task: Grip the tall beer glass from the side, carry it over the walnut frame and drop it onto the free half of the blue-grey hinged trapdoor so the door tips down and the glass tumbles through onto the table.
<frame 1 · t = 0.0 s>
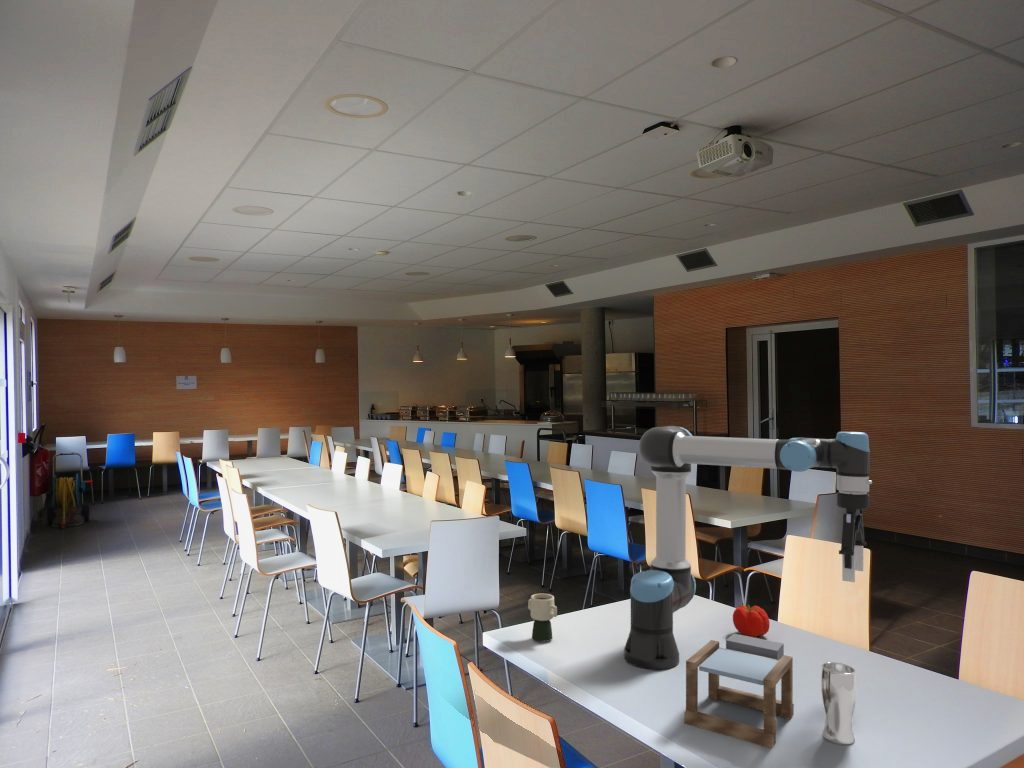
hand: (853, 575, 176), 28 cm above the table, tool pointing down, fingers open, 13 cm apart
beer glass: (838, 739, 148), on the table
frame: (739, 718, 157), on the table
trapdoor: (744, 660, 160), point 12 cm above the table, hinge at 0.0°
character mug: (542, 640, 207), on the table
tomato: (751, 636, 213), on the table
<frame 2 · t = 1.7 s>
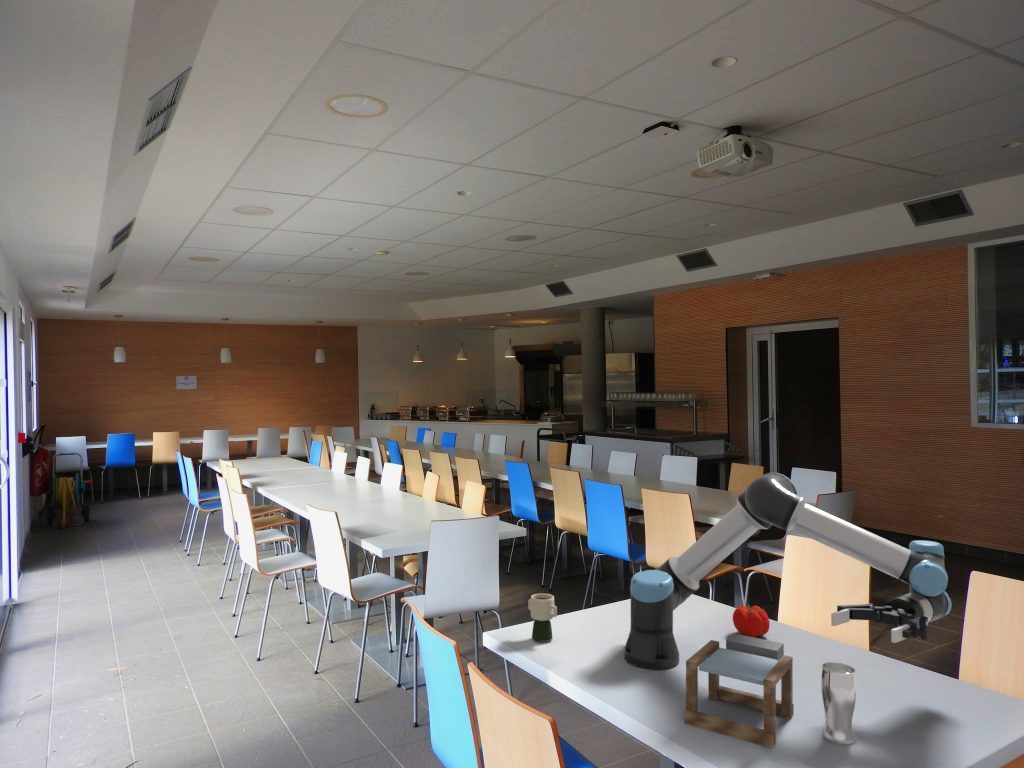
hand: (861, 627, 154), 22 cm above the table, tool horizontal, fingers open, 13 cm apart
nothing on the table moved.
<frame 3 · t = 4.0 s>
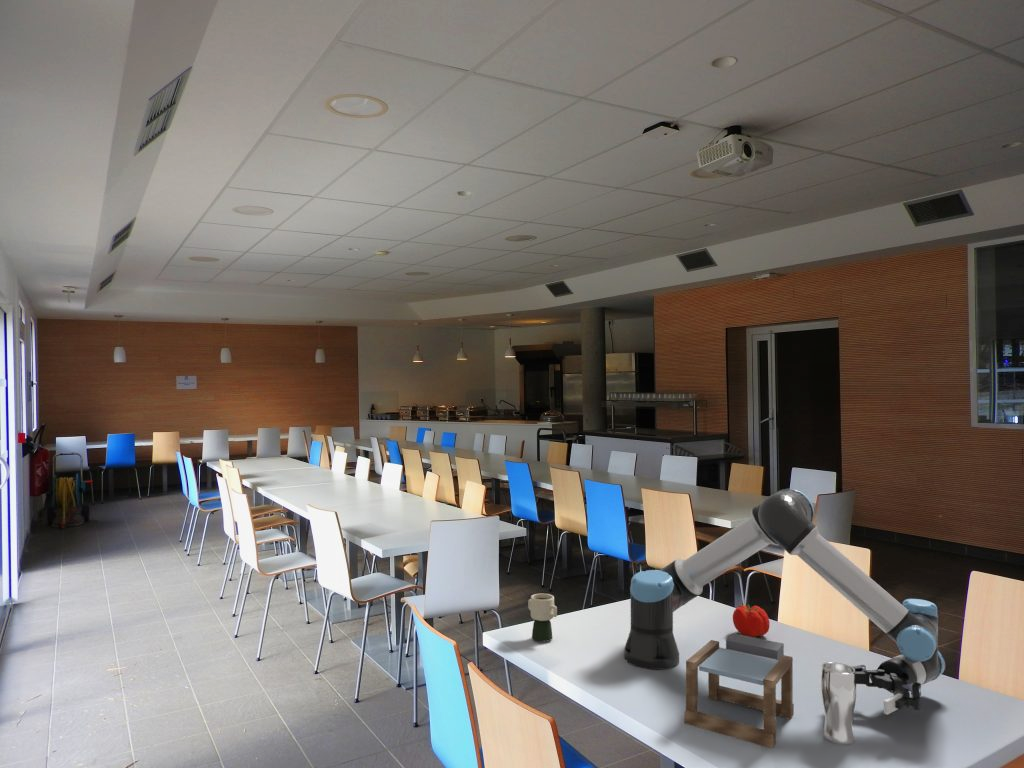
hand: (853, 696, 151), 8 cm above the table, tool horizontal, fingers open, 13 cm apart
nothing on the table moved.
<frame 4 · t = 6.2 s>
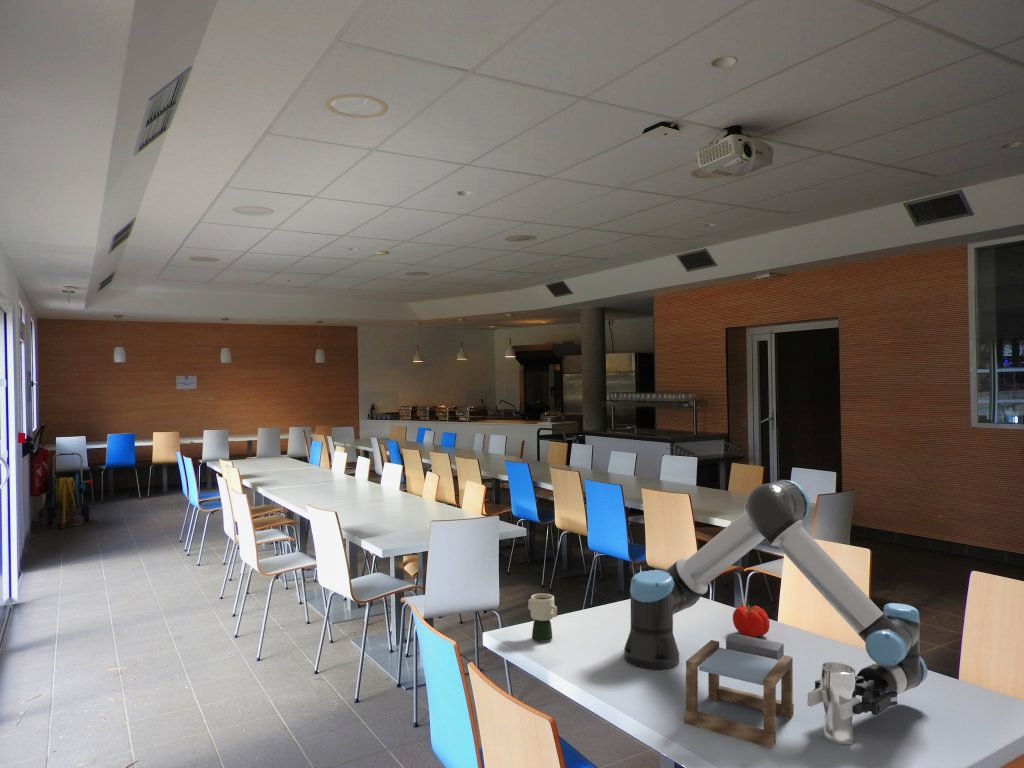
hand: (825, 706, 145), 8 cm above the table, tool horizontal, fingers closed on beer glass, 7 cm apart
beer glass: (838, 738, 148), on the table, touching gripper
everything else where it was.
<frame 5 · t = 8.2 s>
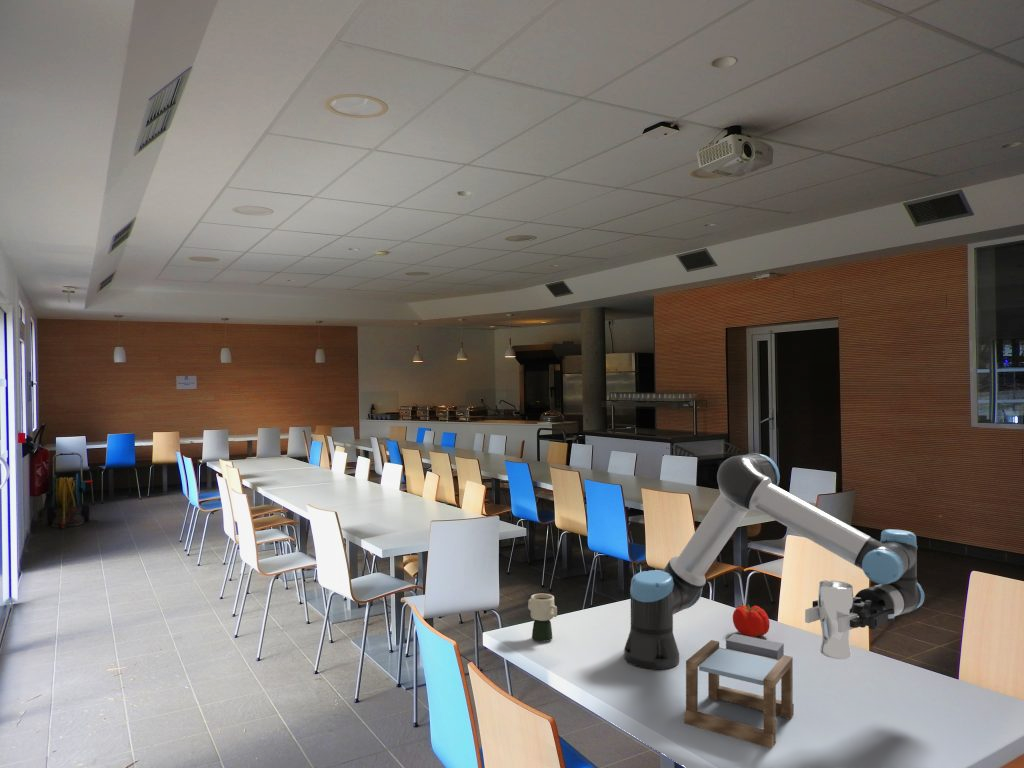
hand: (822, 620, 146), 26 cm above the table, tool horizontal, fingers closed on beer glass, 7 cm apart
beer glass: (835, 655, 149), point 18 cm above the table, touching gripper
everything else where it was.
when the fingers open (23 cm above the table, at t = 10.1 s): beer glass drops 9 cm, resting on frame.
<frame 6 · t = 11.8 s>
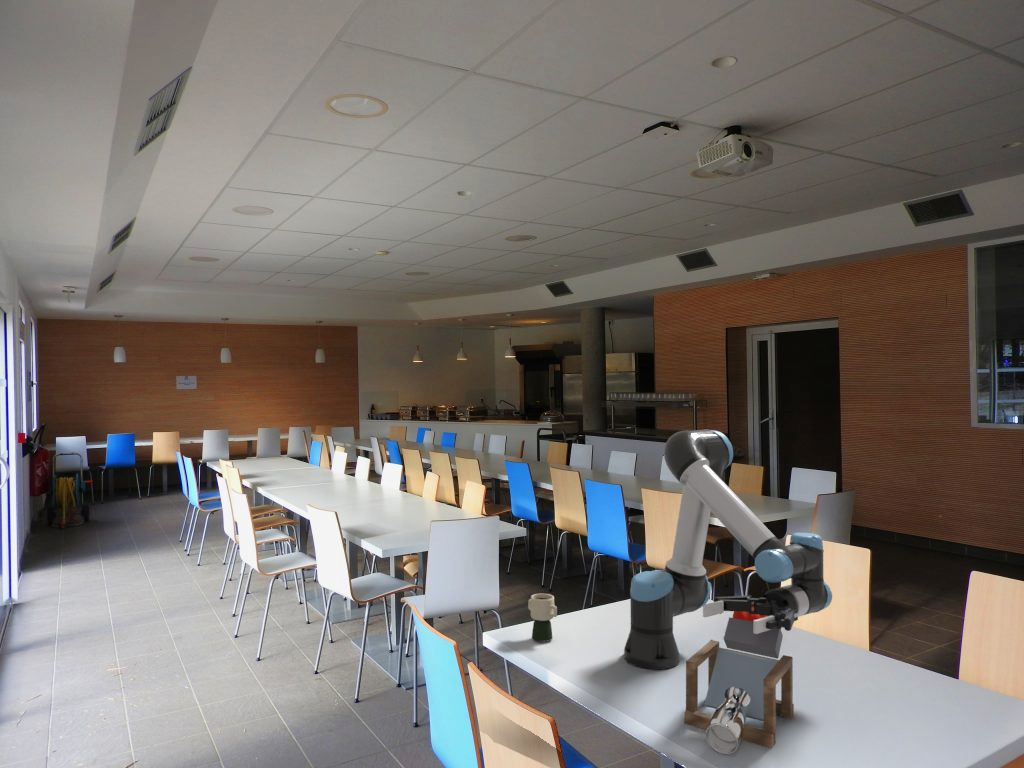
hand: (728, 618, 154), 23 cm above the table, tool horizontal, fingers open, 13 cm apart
beer glass: (737, 698, 153), point 6 cm above the table, touching frame
trapdoor: (746, 668, 161), point 10 cm above the table, hinge at -43.2°
everything else where it was.
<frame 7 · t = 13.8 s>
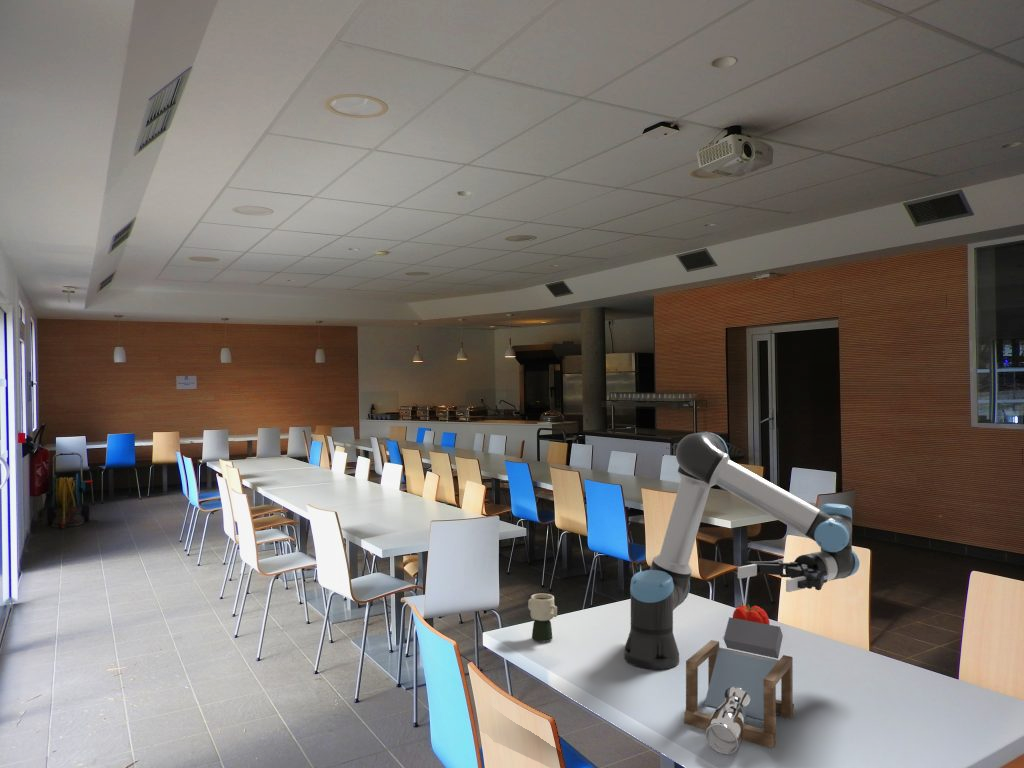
hand: (762, 579, 166), 29 cm above the table, tool horizontal, fingers open, 13 cm apart
nothing on the table moved.
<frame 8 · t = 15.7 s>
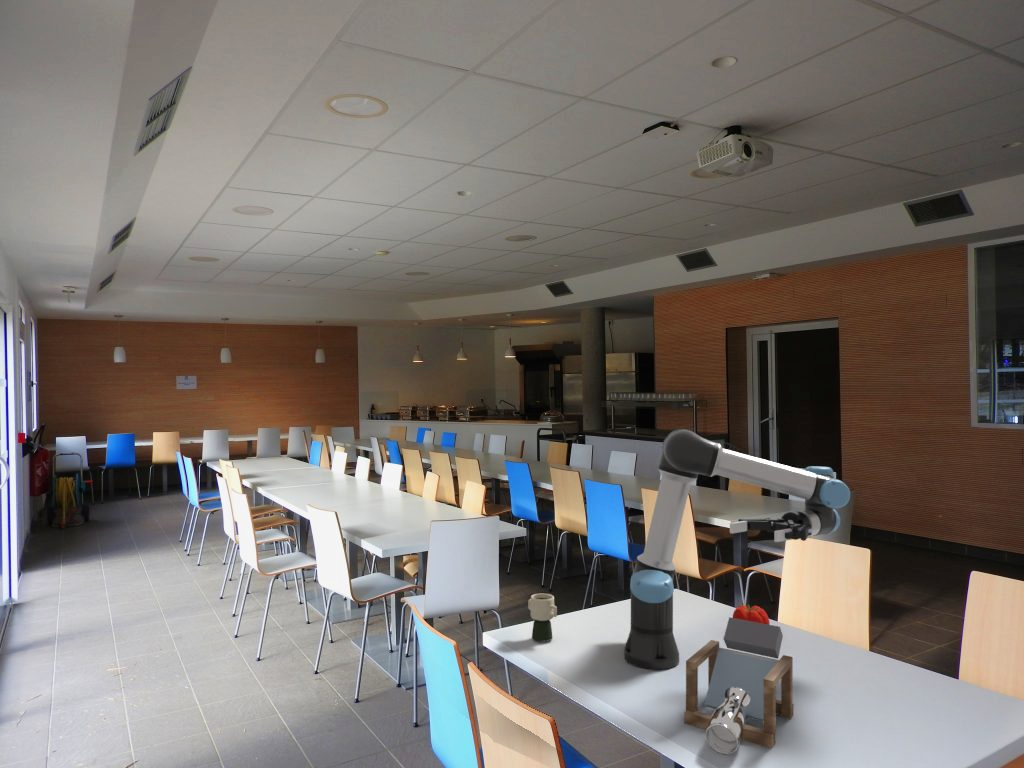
hand: (752, 532, 180), 38 cm above the table, tool horizontal, fingers open, 13 cm apart
nothing on the table moved.
at the end: beer glass point 5.9 cm above the table; beer glass inside the target area (5.7 cm from its centre), point 5.9 cm above the table; the gripper is holding nothing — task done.
